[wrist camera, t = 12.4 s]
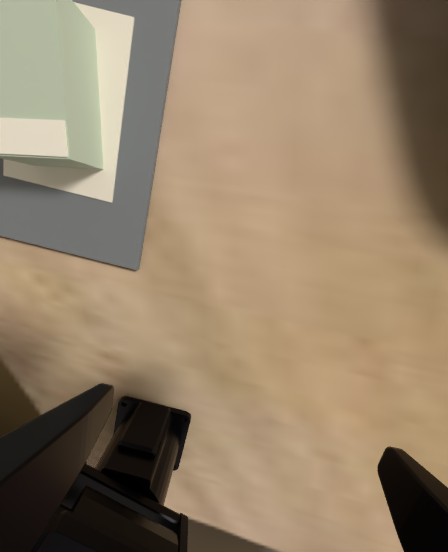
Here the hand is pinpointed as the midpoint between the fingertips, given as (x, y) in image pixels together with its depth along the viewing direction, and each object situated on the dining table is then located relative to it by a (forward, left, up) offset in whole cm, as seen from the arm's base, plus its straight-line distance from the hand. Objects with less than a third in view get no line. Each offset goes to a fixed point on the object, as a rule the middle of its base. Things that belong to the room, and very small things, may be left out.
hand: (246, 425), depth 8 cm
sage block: (+10, +15, -11) cm, 22 cm away
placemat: (+10, +15, -12) cm, 22 cm away
